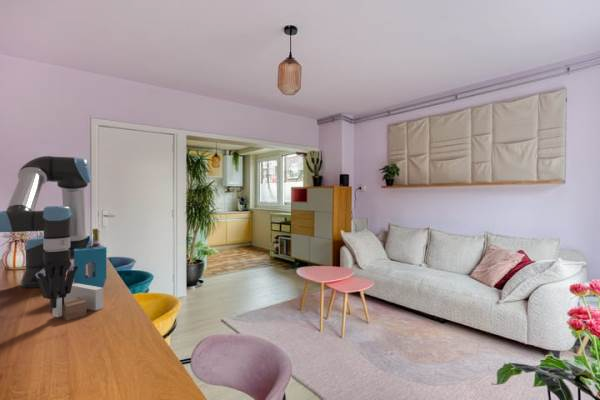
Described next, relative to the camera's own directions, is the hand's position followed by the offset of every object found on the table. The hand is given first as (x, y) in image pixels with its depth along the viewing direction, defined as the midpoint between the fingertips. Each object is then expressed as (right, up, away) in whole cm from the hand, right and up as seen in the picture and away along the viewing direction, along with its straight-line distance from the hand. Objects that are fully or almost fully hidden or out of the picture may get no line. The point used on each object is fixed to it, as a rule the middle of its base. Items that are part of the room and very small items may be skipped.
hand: (57, 315), depth 108 cm
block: (-9, -1, +30) cm, 31 cm away
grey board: (-2, -1, +14) cm, 14 cm away
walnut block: (+2, -1, +5) cm, 5 cm away
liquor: (-11, -1, +37) cm, 39 cm away
